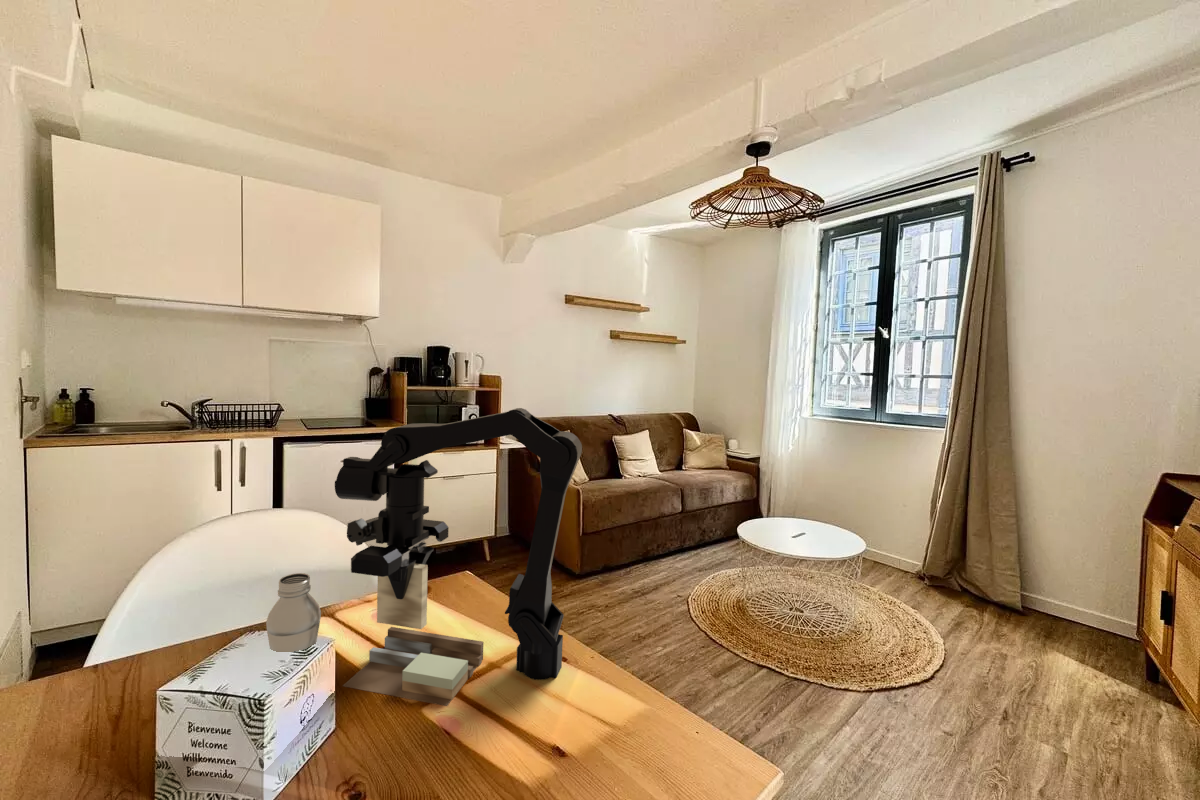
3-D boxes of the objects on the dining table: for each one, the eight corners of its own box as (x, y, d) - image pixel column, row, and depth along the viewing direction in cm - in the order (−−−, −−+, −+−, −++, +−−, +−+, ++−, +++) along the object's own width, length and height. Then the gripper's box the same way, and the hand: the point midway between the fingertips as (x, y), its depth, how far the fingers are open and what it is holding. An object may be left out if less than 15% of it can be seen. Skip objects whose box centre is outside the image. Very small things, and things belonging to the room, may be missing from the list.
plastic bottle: (261, 745, 64) (262, 593, 63) (268, 712, 70) (268, 572, 69) (319, 731, 67) (321, 585, 66) (321, 700, 73) (322, 566, 72)
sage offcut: (467, 669, 78) (468, 660, 78) (452, 689, 73) (452, 679, 73) (420, 661, 80) (421, 652, 79) (402, 680, 75) (402, 670, 75)
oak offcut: (467, 679, 78) (467, 669, 78) (451, 699, 73) (452, 689, 73) (420, 670, 80) (420, 661, 80) (402, 690, 75) (402, 680, 75)
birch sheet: (426, 624, 83) (427, 565, 82) (421, 629, 81) (422, 568, 81) (383, 617, 84) (383, 559, 84) (377, 622, 83) (377, 563, 82)
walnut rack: (483, 665, 84) (484, 641, 83) (448, 712, 72) (448, 685, 72) (389, 648, 87) (390, 626, 87) (340, 692, 75) (341, 666, 75)
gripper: (394, 485, 92) (393, 568, 93) (318, 513, 74) (318, 616, 75) (450, 490, 90) (448, 576, 91) (386, 520, 72) (385, 627, 73)
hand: (403, 596), depth 82 cm, fingers closed on birch sheet, 2 cm apart
